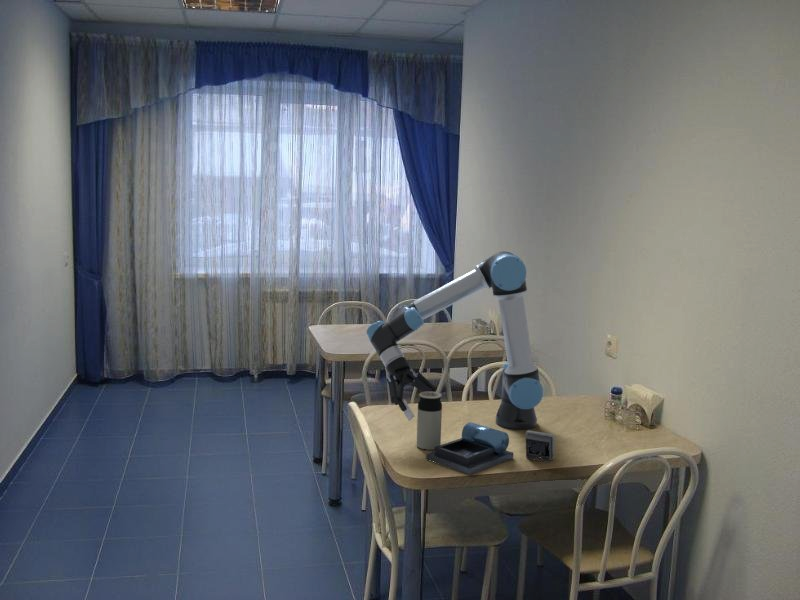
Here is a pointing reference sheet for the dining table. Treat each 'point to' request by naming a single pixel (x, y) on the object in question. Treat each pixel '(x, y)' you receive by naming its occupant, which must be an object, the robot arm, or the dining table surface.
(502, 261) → the robot arm
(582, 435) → the dining table surface
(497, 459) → the base
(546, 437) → the electrical switch
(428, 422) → the travel mug
